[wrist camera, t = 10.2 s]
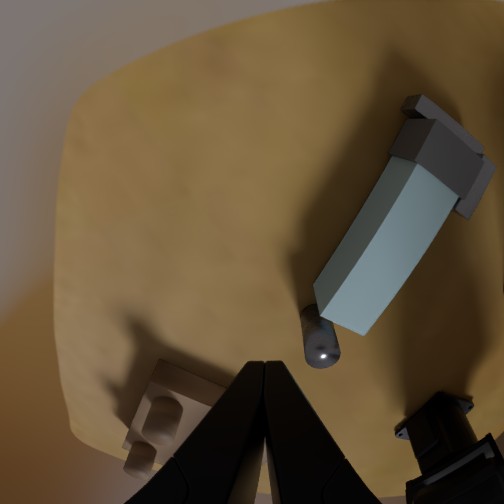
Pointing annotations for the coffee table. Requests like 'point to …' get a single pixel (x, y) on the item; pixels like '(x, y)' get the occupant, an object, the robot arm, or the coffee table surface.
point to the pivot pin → (319, 339)
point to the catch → (427, 109)
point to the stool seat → (167, 417)
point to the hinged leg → (396, 223)
